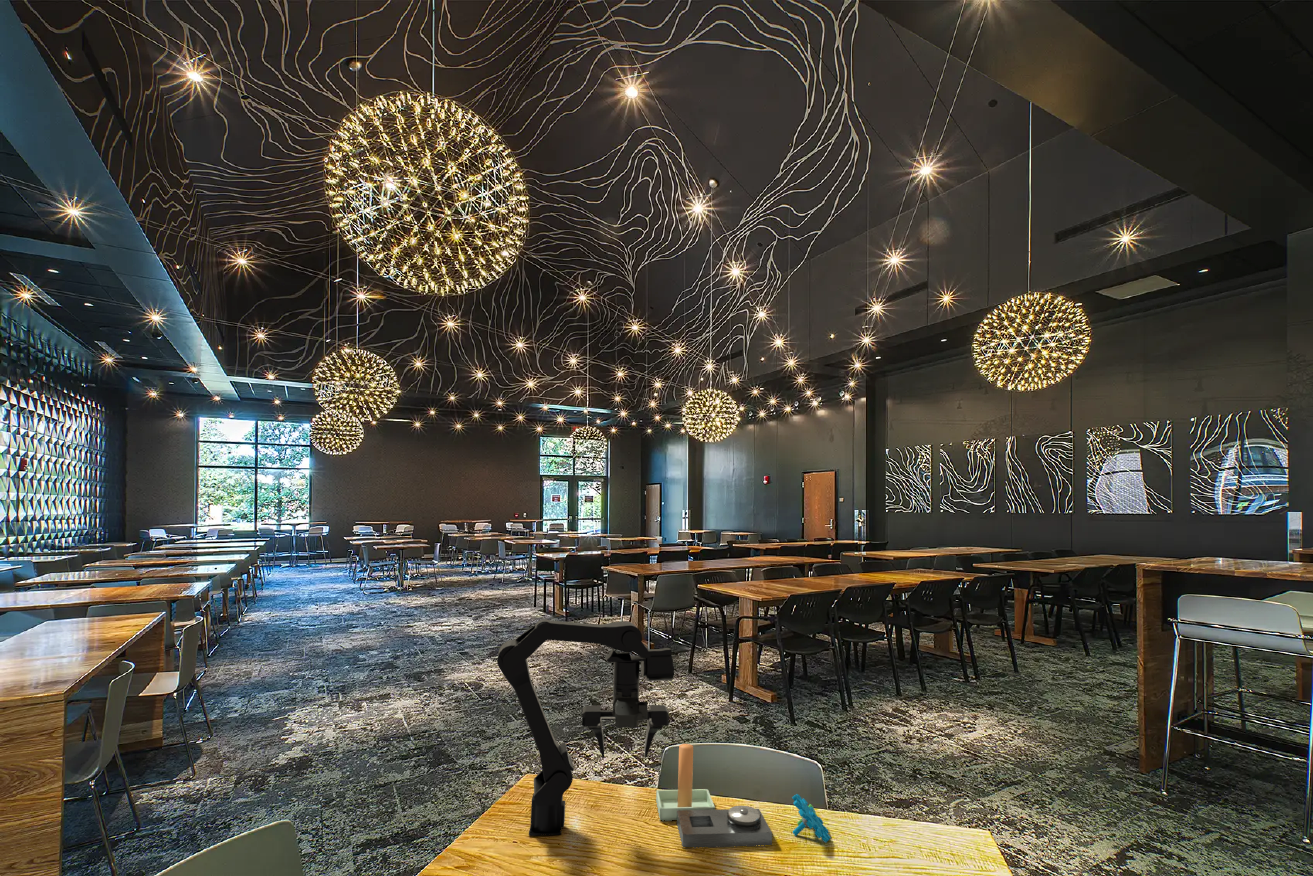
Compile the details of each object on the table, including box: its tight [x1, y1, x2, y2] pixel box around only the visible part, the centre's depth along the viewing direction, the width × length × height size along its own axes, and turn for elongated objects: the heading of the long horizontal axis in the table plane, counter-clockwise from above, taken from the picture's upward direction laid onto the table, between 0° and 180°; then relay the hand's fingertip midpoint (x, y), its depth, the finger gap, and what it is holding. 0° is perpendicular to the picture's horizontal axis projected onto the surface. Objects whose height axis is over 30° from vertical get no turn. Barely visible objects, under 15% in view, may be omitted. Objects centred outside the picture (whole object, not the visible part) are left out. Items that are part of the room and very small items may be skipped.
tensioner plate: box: [676, 805, 773, 849], centre depth 123 cm, size 18×10×5 cm, turn 95°
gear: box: [791, 793, 831, 843], centre depth 124 cm, size 11×6×10 cm
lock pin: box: [677, 743, 694, 807], centre depth 134 cm, size 3×3×13 cm
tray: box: [655, 788, 716, 822], centre depth 133 cm, size 12×9×2 cm
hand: (624, 757), depth 129 cm, fingers open, 9 cm apart
